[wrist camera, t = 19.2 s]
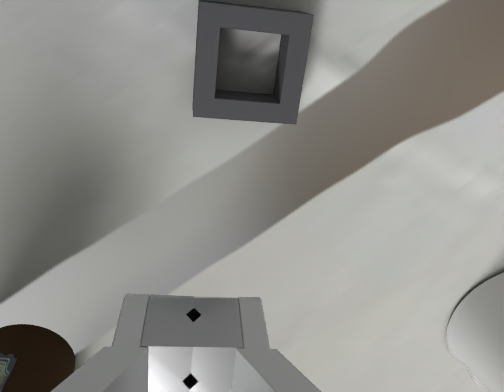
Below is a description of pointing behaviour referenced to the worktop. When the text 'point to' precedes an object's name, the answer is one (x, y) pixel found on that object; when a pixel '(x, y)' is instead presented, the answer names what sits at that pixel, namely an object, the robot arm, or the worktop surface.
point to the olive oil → (33, 359)
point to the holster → (288, 67)
